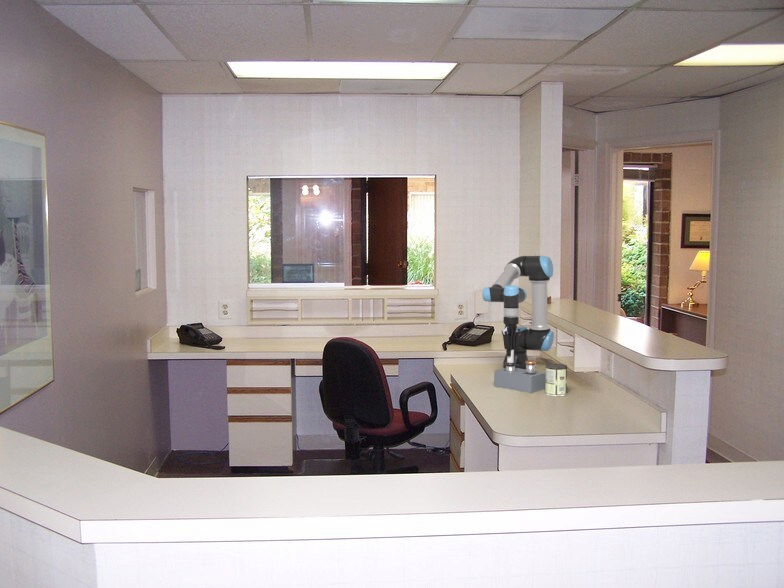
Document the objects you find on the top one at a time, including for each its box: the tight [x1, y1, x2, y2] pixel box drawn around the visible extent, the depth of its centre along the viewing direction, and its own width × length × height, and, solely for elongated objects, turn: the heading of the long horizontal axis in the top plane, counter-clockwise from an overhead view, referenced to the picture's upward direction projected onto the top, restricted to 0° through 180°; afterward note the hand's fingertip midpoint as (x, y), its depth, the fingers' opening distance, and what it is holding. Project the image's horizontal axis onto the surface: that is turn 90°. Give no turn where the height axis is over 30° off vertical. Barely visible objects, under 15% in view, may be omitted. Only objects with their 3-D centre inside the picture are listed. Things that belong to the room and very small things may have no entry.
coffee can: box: [544, 363, 568, 398], centre depth 343 cm, size 10×10×14 cm
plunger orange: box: [525, 359, 537, 375], centre depth 354 cm, size 5×5×8 cm
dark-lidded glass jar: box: [505, 362, 516, 372], centre depth 362 cm, size 5×5×8 cm
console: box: [493, 367, 546, 394], centre depth 358 cm, size 14×22×8 cm, turn 46°
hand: (510, 362), depth 362 cm, fingers closed
